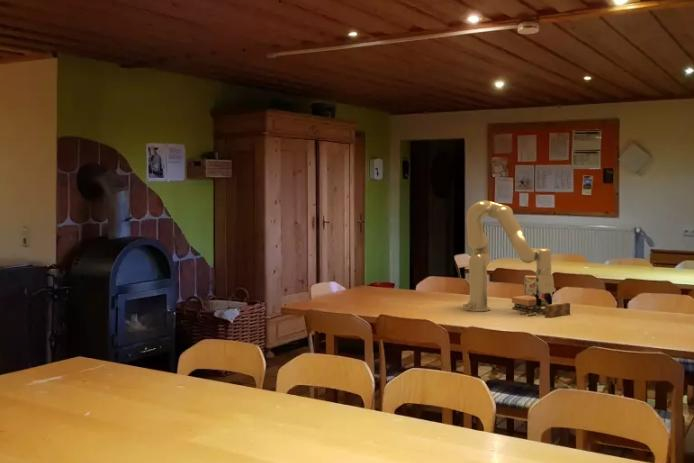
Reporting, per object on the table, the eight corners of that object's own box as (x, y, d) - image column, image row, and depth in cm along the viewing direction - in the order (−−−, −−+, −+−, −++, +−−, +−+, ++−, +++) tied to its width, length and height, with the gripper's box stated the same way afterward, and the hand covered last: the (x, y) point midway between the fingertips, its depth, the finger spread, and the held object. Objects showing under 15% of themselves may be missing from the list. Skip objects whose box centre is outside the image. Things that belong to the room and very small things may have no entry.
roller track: (545, 315, 374) (545, 309, 374) (512, 308, 396) (512, 302, 396) (558, 313, 379) (558, 307, 379) (524, 306, 401) (524, 300, 401)
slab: (528, 306, 384) (528, 300, 384) (511, 302, 395) (511, 297, 395) (543, 303, 389) (543, 298, 389) (526, 300, 401) (526, 295, 400)
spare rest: (528, 316, 373) (528, 315, 373) (520, 314, 378) (520, 313, 378) (536, 315, 375) (536, 314, 375) (527, 313, 381) (527, 312, 381)
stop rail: (547, 317, 369) (547, 306, 368) (545, 317, 370) (545, 305, 370) (570, 314, 376) (570, 303, 376) (567, 313, 378) (567, 302, 378)
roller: (541, 306, 379) (539, 300, 380) (537, 308, 381) (535, 301, 382) (551, 304, 382) (549, 298, 383) (546, 306, 385) (544, 300, 386)
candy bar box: (525, 305, 405) (525, 276, 404) (524, 303, 410) (524, 275, 409) (545, 305, 404) (545, 276, 403) (543, 304, 409) (544, 275, 408)
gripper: (536, 273, 373) (537, 307, 374) (561, 271, 381) (561, 304, 383) (526, 272, 379) (527, 305, 381) (550, 269, 388) (550, 302, 389)
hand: (544, 304), depth 382 cm, fingers closed on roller, 7 cm apart
